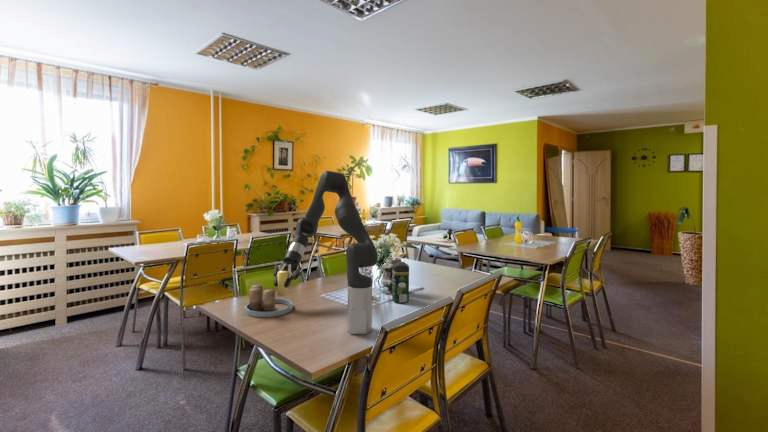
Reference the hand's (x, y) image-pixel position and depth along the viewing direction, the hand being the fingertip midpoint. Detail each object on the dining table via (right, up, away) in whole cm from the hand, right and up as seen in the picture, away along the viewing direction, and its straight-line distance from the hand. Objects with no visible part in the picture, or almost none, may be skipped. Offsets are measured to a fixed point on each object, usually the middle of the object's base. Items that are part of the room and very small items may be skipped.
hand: (280, 286), depth 162 cm
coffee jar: (+53, -10, +16) cm, 56 cm away
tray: (-5, -10, +1) cm, 12 cm away
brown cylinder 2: (-3, -11, -5) cm, 12 cm away
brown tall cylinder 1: (-11, -10, +2) cm, 15 cm away
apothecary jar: (+50, -9, +30) cm, 59 cm away
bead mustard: (0, -4, +2) cm, 5 cm away
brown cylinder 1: (-10, -11, -3) cm, 15 cm away
